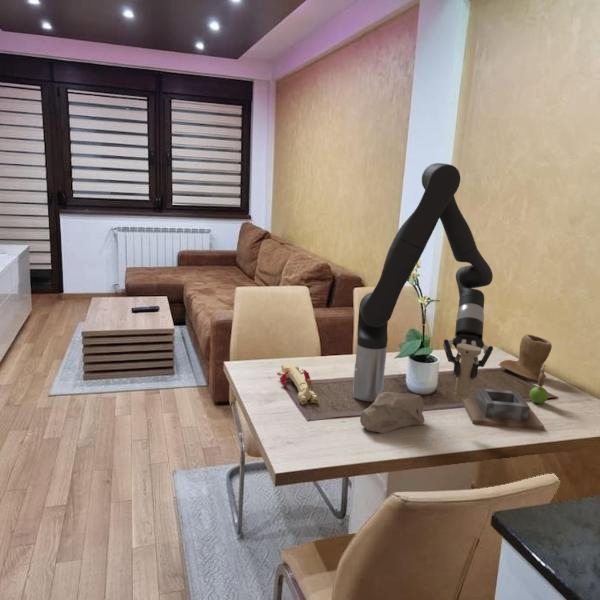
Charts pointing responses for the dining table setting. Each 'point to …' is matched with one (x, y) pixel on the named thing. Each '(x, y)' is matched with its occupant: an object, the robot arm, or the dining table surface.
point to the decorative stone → (393, 412)
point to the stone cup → (529, 357)
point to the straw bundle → (298, 381)
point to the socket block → (501, 409)
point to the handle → (465, 369)
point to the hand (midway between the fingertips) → (465, 376)
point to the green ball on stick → (539, 390)
